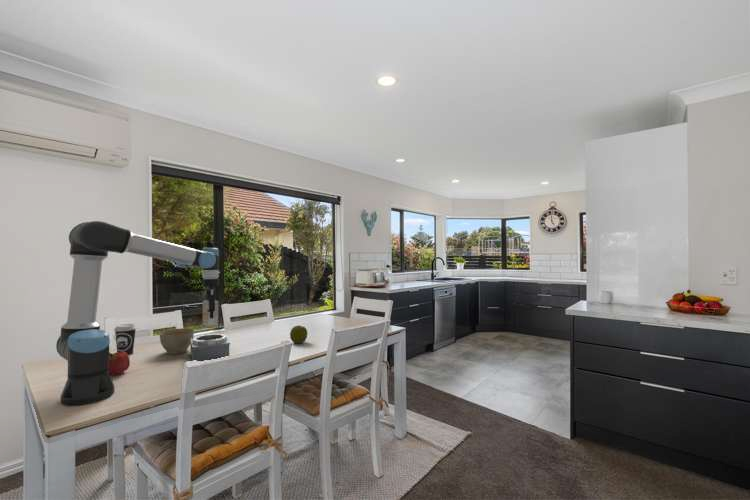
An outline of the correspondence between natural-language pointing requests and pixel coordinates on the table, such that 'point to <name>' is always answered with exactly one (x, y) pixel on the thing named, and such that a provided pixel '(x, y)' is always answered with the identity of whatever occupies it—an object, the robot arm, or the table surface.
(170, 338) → the planter bowl
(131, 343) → the coffee cup
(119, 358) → the vegetable
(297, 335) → the olive green ball
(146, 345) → the table surface
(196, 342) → the housing
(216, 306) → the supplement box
